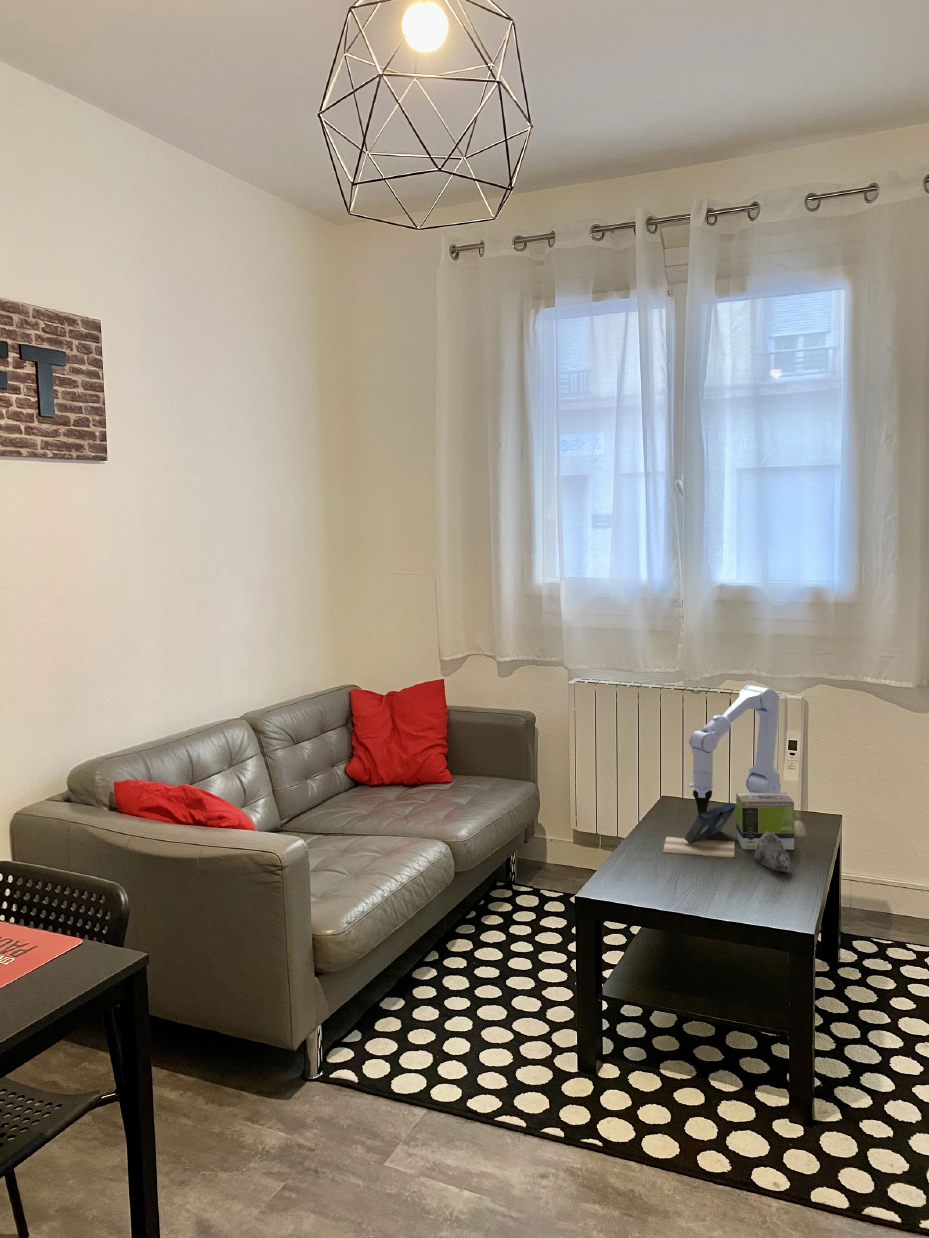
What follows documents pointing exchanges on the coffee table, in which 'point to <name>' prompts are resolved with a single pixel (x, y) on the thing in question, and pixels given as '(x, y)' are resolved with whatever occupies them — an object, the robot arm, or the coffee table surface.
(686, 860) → the coffee table surface
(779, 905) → the coffee table surface
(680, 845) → the wooden board
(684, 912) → the coffee table surface
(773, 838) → the mineral rock
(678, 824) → the coffee table surface
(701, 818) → the vhs cassette tape
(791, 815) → the tea box
